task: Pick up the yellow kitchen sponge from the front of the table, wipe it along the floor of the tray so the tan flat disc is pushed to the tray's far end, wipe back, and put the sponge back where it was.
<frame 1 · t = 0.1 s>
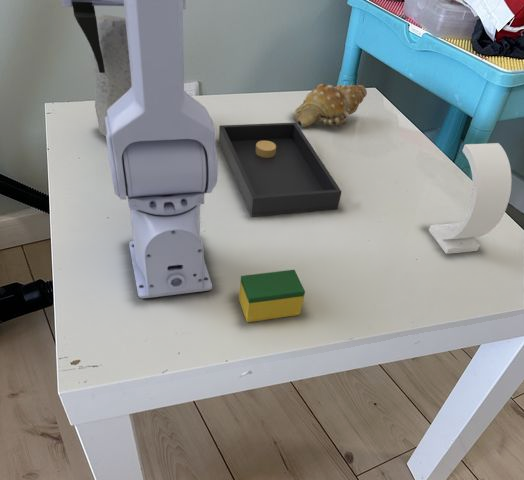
hand: (131, 69, 67), 10 cm above the table, tool pointing down, fingers open, 7 cm apart
headphone stand: (453, 244, 66), on the table
tan flat disc: (265, 152, 75), resting on tray
sponge: (269, 307, 54), on the table
seashell: (327, 122, 85), on the table
tray: (274, 173, 72), on the table
decorative stone: (136, 130, 77), on the table
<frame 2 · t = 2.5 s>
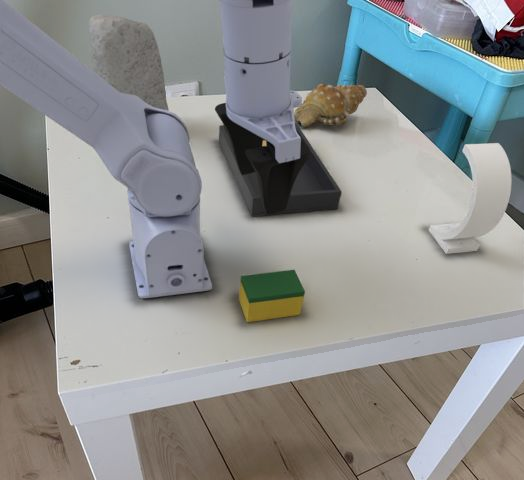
hand: (261, 190, 53), 9 cm above the table, tool pointing down, fingers open, 7 cm apart
nothing on the table moved.
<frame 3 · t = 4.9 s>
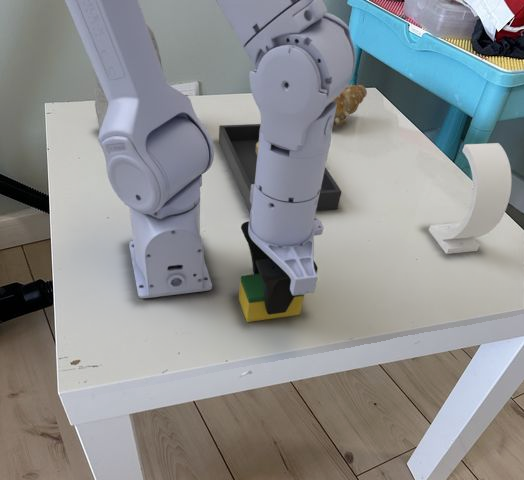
hand: (270, 297, 53), 1 cm above the table, tool pointing down, fingers closed on sponge, 3 cm apart
sponge: (269, 307, 54), on the table, touching gripper
everything else where it was.
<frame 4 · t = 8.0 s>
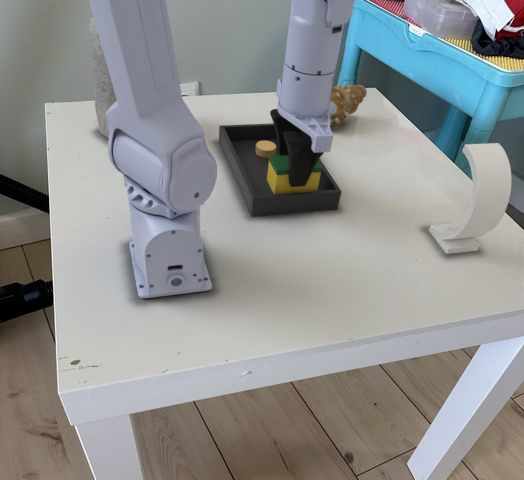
hand: (292, 176, 65), 4 cm above the table, tool pointing down, fingers closed on sponge, 3 cm apart
sponge: (291, 185, 67), point 2 cm above the table, touching gripper
everything else where it was.
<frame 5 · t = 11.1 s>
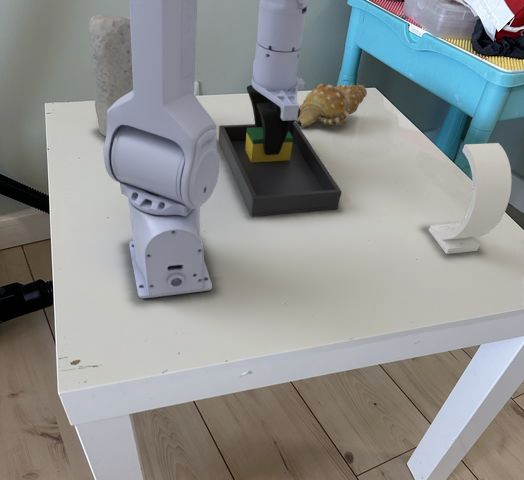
hand: (267, 146, 73), 2 cm above the table, tool pointing down, fingers closed on sponge, 3 cm apart
tan flat disc: (260, 144, 76), point 1 cm above the table, touching tray, sponge
sponge: (267, 155, 74), point 1 cm above the table, touching tan flat disc, gripper
everything else where it was.
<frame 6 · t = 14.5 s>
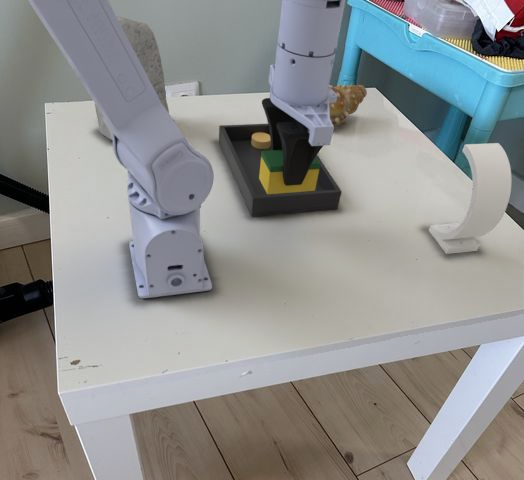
hand: (287, 174, 59), 7 cm above the table, tool pointing down, fingers closed on sponge, 3 cm apart
tan flat disc: (260, 144, 76), resting on tray
sponge: (286, 184, 60), point 6 cm above the table, touching gripper
everything else where it was.
when the fingers open (1 cm above the table, at t = 17.2 s): sponge stays where it is, on the table.
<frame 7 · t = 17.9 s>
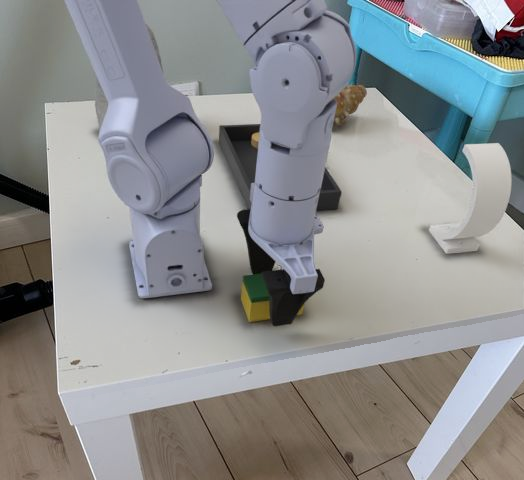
hand: (270, 296, 53), 2 cm above the table, tool pointing down, fingers open, 7 cm apart
sponge: (271, 307, 55), on the table
everything else where it was.
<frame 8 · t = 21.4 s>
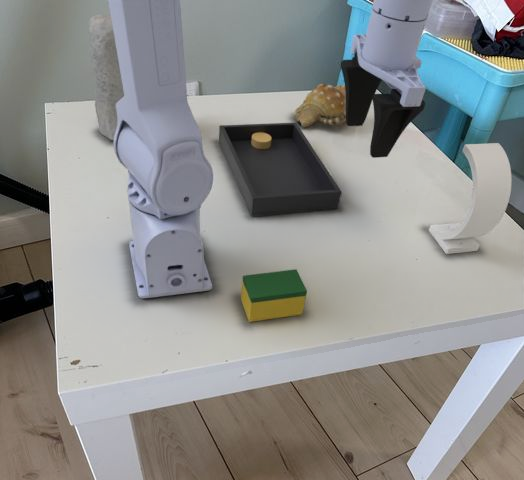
hand: (366, 139, 62), 9 cm above the table, tool pointing down, fingers open, 7 cm apart
nothing on the table moved.
at the end: tan flat disc inside the target area in the tray (0.0 cm from its centre), point 0.5 cm above the tray's base; sponge inside the target area (0.2 cm from its centre), on the table; the gripper is holding nothing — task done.
